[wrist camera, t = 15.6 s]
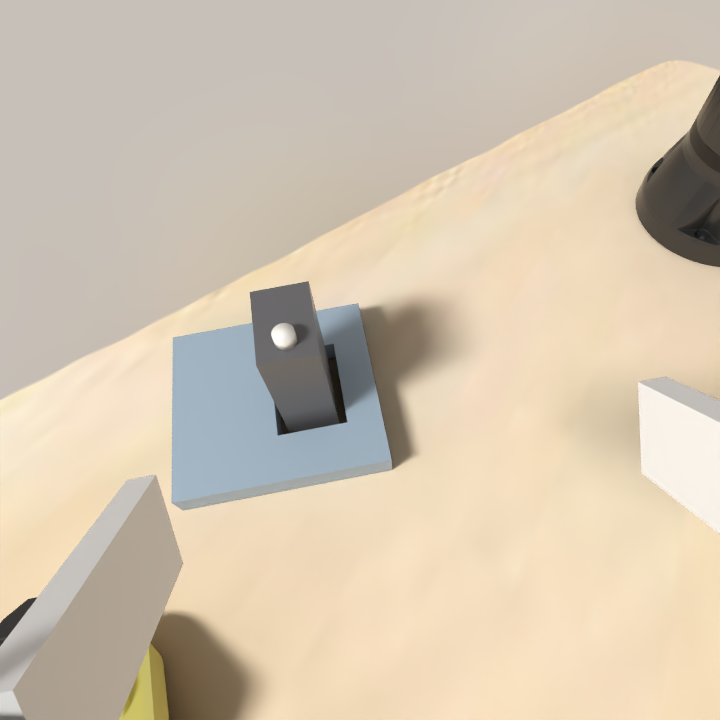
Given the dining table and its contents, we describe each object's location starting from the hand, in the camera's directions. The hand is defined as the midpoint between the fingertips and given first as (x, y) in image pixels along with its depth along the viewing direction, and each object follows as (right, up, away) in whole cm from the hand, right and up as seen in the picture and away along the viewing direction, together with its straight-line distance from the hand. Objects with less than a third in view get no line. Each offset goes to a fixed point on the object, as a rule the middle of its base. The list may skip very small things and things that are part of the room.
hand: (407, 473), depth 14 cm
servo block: (-6, -1, +34) cm, 35 cm away
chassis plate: (-9, -1, +34) cm, 35 cm away
